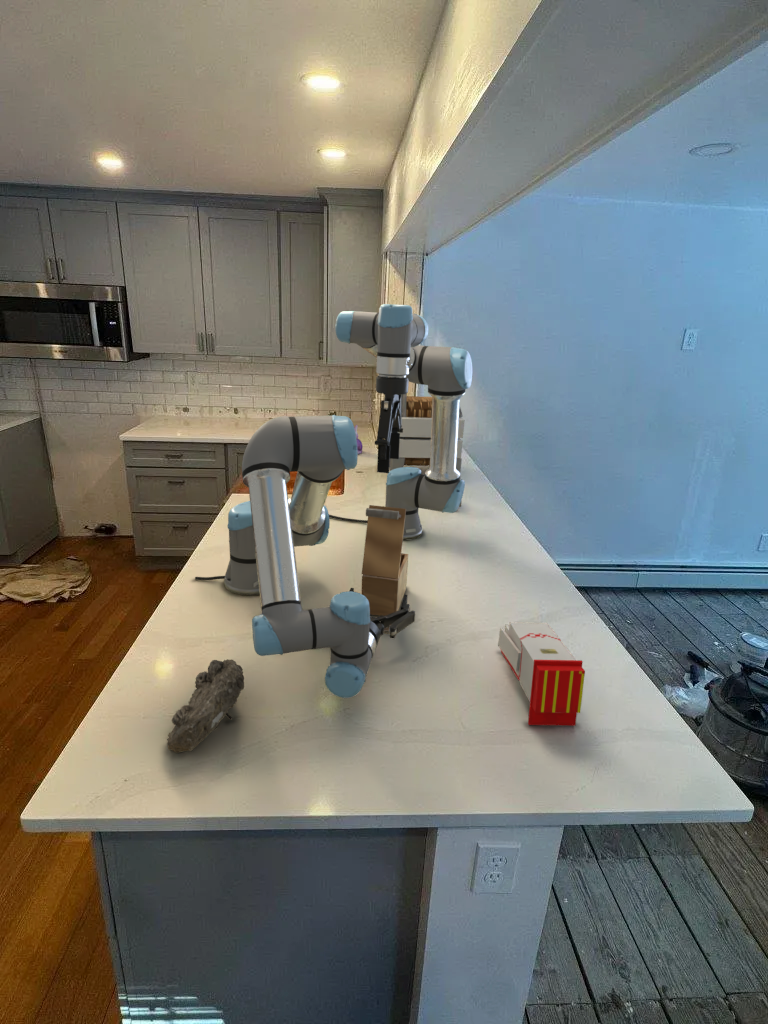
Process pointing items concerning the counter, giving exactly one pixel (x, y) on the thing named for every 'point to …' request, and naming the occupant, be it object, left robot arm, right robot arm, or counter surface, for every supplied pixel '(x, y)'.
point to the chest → (385, 590)
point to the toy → (544, 672)
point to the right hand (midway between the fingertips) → (388, 465)
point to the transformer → (420, 433)
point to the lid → (383, 541)
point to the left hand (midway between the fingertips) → (378, 595)
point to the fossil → (206, 705)
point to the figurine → (358, 441)
